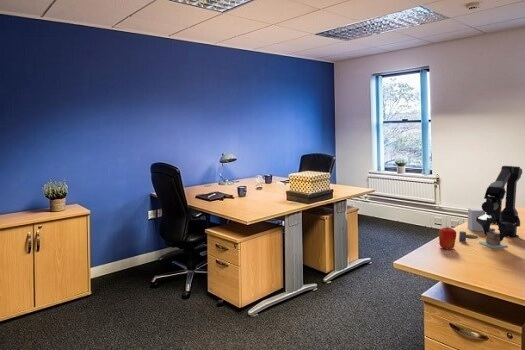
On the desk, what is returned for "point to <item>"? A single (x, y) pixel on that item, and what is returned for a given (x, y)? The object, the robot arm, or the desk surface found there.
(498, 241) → the walnut block
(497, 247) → the pale teal mat
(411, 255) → the desk surface
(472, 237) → the desk surface
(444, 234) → the apple
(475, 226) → the supplement box
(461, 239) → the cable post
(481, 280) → the desk surface
